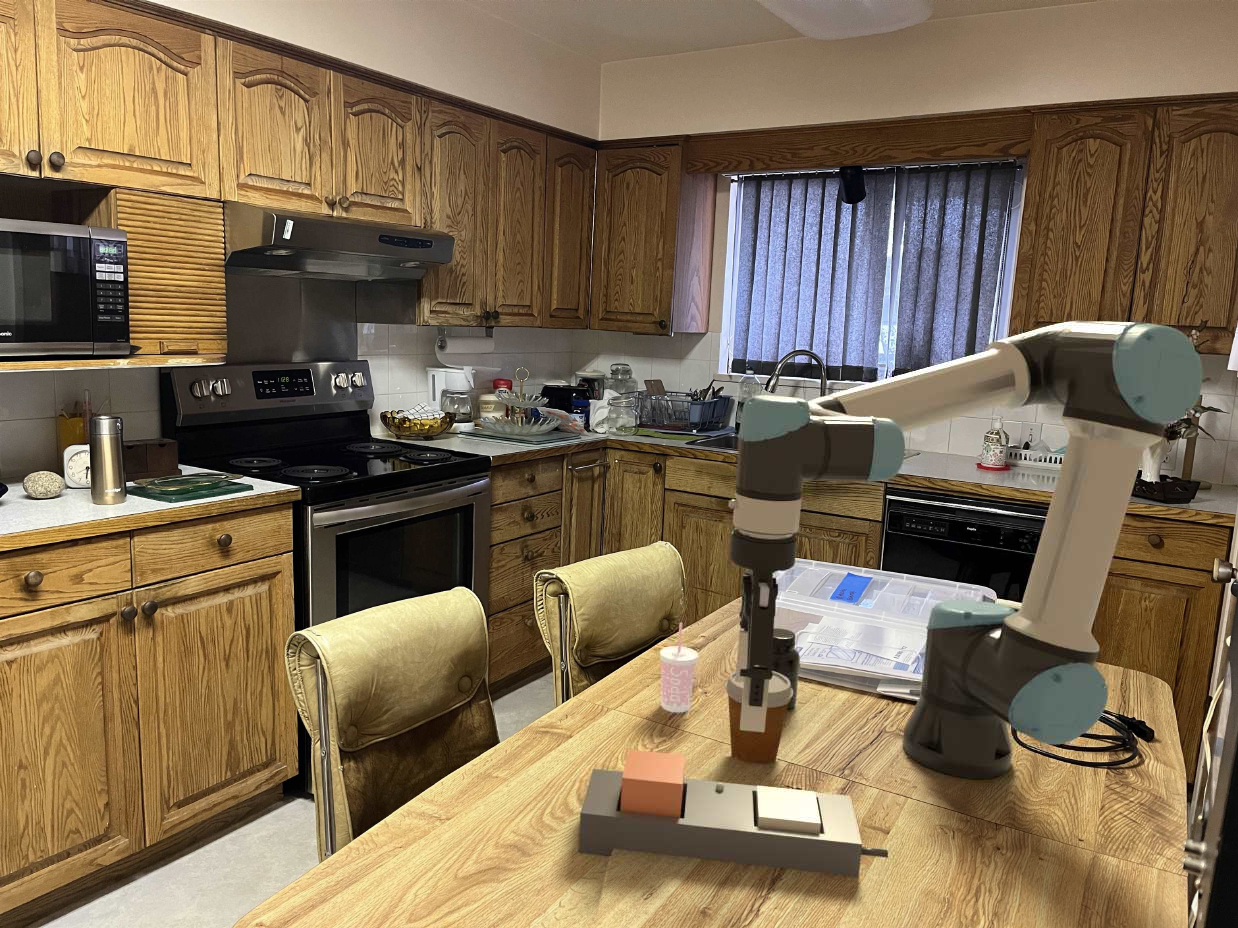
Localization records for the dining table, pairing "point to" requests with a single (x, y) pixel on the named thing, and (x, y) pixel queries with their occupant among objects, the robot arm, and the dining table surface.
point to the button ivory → (786, 809)
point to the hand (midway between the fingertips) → (748, 704)
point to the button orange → (653, 783)
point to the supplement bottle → (786, 659)
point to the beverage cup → (677, 676)
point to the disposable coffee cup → (765, 743)
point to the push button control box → (721, 828)
